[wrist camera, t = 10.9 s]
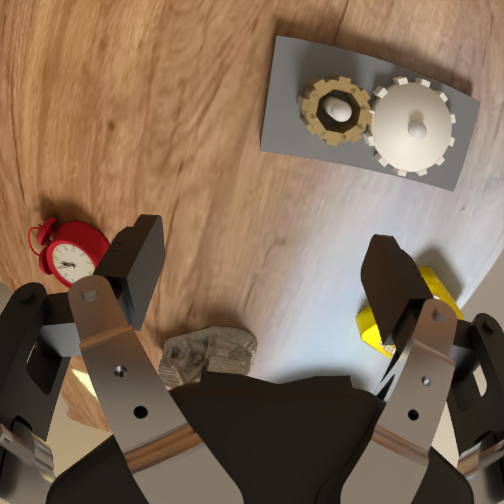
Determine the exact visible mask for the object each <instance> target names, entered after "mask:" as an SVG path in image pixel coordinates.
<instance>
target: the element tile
mask: <svg viewBox="0 0 504 504" xmlns="http://www.w3.org/2000/svg"><path fill="white" fill-rule="evenodd" d="M417 269H419V271H420V273H421V276H423V278H424V280H425V282H426V284H427V285H428V287H429V289H430V291H431V293H432V295H433V297H434V298H435V299H439V300H442V301H444V302H445V303H447V304H448V305H449V306H451V307H452V309H453V310H454V311H455V313H456V315H457V319H460V320H462V319H463V314H462V312H461V310H460V309H459V307H458V305H457V303H456V302H455V300H454V298H453V297H452V296H451V294H450V293H449V291H448V290H447V289H446V287H445V286H444V284H443V283H442V282H441V280H440V279H439V278H438V276H437V275H436V274H435V272H434V271H433V270H432V269H431V268H430V267H428V266H422V267H419V268H417ZM356 323H357V326H358V330H359V333H360V337H361V339H362V340H363V341H364V342H365V343H367V344H368V345H370V346H371V347H373V348H374V349H376V350H377V351H379V352H380V353H382V354H383V355H385V356H386V357H388V358H389V359H390V358H391V356H392V354H393V353H394V351H395V350H396V347H395V345H383V344H382V341H381V337H380V334H379V331H378V328H377V325H376V322H375V319H374V316H373V313H372V310H371V307H370V305H369V306H367V307H366V308H365V309H363V310H362V311H361V312H360V313H359V314H358V315H357V316H356Z"/></svg>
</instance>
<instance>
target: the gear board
mask: <svg viewBox="0 0 504 504" xmlns="http://www.w3.org/2000/svg"><path fill="white" fill-rule="evenodd" d="M330 74H331V75H336V76H341V77H345V78H349V79H351V82H350V84H353V85H357V86H358V87H360V88H363V89H365V90H366V92H367V93H368V95H369V97H370V98H371V99H369V100H368V101H367V102H368V104H369V106H370V110H369V113H371V114H373V119H372V123H371V125H369V124H366V128H365V131H363V132H361V133H360V136H361V137H362V138H361V139H359V140H358V141H356V142H354V143H352V142H351V141H350V140H349V141H347V142H345V143H343V142H338V144H337V146H333V145H328V144H326V143H325V142H324V141H323V139H322V138H320V137H319V135H318V134H317V133H315V134H314V135H312V134H311V133H310V131H309V130H308V129H307V127H306V126H305V124H304V123H303V122H302V120H301V119H300V118H301V117H302V116H304V115H303V114H302V113H301V111H300V107H299V106H298V105H297V98H298V94H300V95H303V91H304V89H305V88H306V87H308V86H309V85H308V84H307V81H309V80H310V79H312V78H313V77H318V78H322V77H324V78H329V75H330ZM348 103H349V102H348V100H347V99H346V97H345V96H344V94H343V93H342V91H341V90H336V89H333V90H332V91H330V92H328V93H327V94H325V95H324V96H322V97H321V98H319V101H318V107H317V112H316V117H317V118H318V120H319V121H320V122H323V123H328V124H332V125H333V124H335V123H336V122H338V121H340V122H343V121H346V120H348V119H349V118H350V116H351V113H352V111H351V107H350V106H349V105H348ZM479 106H480V102H479V101H477V100H475V99H474V98H472V97H470V96H468V95H466V94H464V93H462V92H460V91H458V90H456V89H454V88H451V87H449V86H447V85H445V84H443V83H441V82H438V81H436V80H434V79H431V78H429V77H427V76H424V75H422V74H419V73H417V72H414V71H412V70H409V69H406V68H404V67H401V66H398V65H395V64H392V63H390V62H387V61H384V60H381V59H377V58H374V57H371V56H368V55H364V54H361V53H357V52H354V51H350V50H346V49H342V48H338V47H334V46H330V45H326V44H321V43H317V42H312V41H307V40H301V39H296V38H290V37H284V36H276V38H275V45H274V52H273V58H272V65H271V72H270V79H269V86H268V93H267V100H266V106H265V113H264V120H263V127H262V134H261V142H260V151H264V152H272V153H279V154H286V155H293V156H299V157H305V158H311V159H317V160H323V161H328V162H334V163H339V164H344V165H349V166H354V167H359V168H363V169H368V170H373V171H377V172H382V173H386V174H390V175H394V176H398V177H402V178H406V179H410V180H414V181H418V182H422V183H425V184H429V185H433V186H436V187H440V188H443V189H447V190H450V191H454V189H455V186H456V183H457V180H458V178H459V175H460V172H461V169H462V166H463V163H464V160H465V157H466V154H467V150H468V147H469V144H470V140H471V137H472V133H473V130H474V126H475V122H476V119H477V115H478V110H479Z"/></svg>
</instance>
